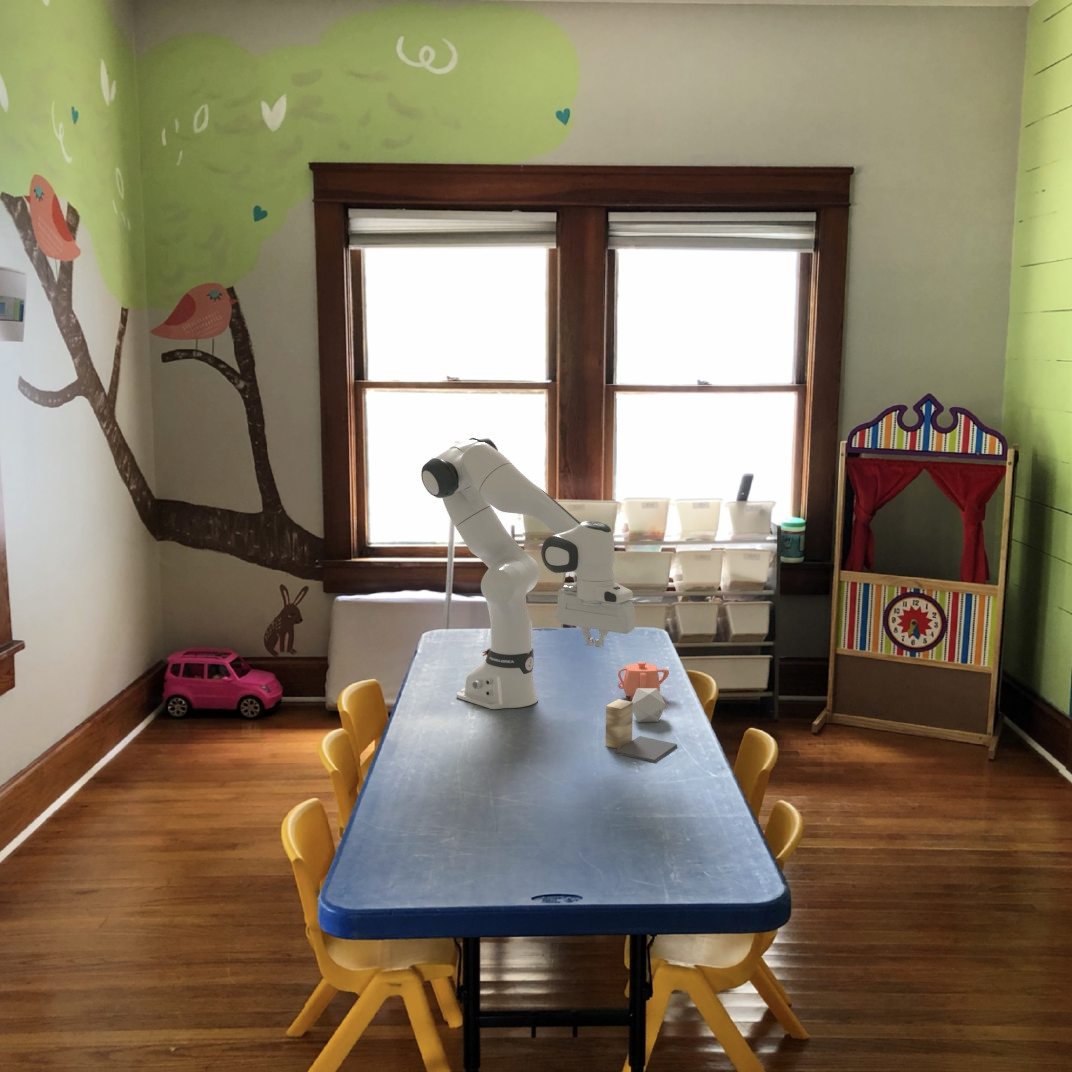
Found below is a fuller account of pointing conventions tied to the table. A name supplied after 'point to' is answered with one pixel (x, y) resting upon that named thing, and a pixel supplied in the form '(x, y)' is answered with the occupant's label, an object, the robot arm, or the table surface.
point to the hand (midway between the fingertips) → (594, 646)
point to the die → (648, 705)
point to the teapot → (640, 677)
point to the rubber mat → (646, 749)
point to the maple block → (619, 723)
